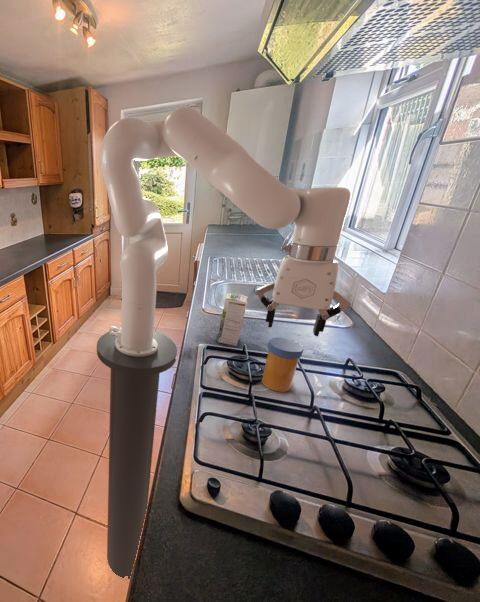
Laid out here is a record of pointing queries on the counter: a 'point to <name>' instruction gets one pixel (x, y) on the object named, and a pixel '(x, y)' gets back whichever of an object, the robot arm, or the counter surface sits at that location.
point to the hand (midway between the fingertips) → (292, 328)
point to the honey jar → (279, 372)
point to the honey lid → (285, 348)
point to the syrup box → (232, 319)
